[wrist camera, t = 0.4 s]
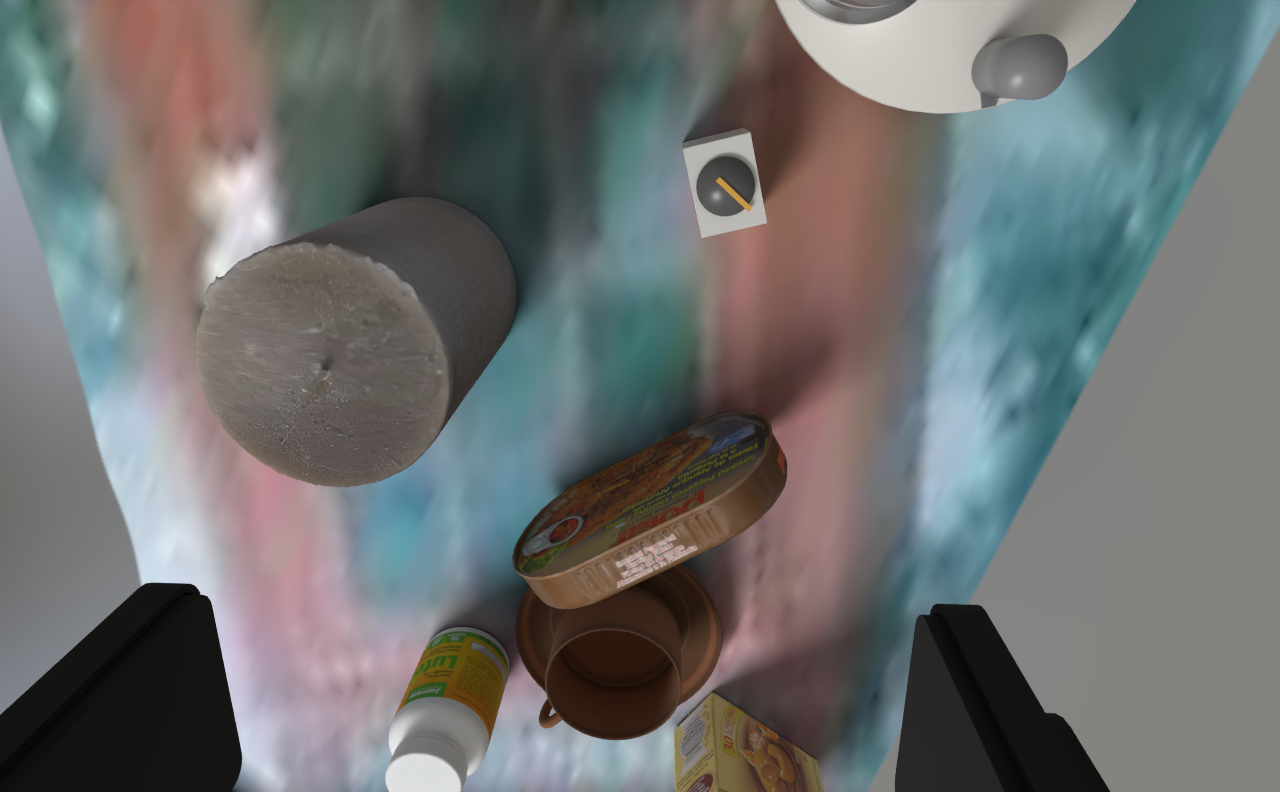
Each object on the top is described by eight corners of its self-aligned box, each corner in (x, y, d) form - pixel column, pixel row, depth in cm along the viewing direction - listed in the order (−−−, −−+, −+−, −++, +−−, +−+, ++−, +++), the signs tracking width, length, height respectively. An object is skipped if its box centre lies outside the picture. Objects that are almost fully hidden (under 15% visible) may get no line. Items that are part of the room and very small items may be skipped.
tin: (759, 390, 45) (776, 456, 37) (785, 437, 46) (807, 512, 38) (523, 508, 48) (493, 591, 40) (551, 550, 49) (527, 640, 41)
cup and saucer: (665, 725, 53) (664, 803, 47) (491, 652, 52) (467, 723, 46) (756, 580, 49) (766, 646, 43) (570, 497, 48) (555, 554, 42)
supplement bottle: (468, 608, 51) (422, 724, 41) (528, 666, 52) (497, 790, 43) (406, 654, 52) (348, 776, 43) (466, 709, 53) (423, 839, 44)
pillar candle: (463, 407, 46) (370, 551, 32) (302, 312, 44) (130, 419, 30) (553, 260, 43) (494, 348, 29) (384, 152, 41) (235, 189, 27)
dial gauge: (682, 142, 41) (682, 149, 37) (743, 127, 40) (750, 132, 36) (699, 223, 42) (701, 238, 38) (758, 210, 42) (767, 223, 38)
